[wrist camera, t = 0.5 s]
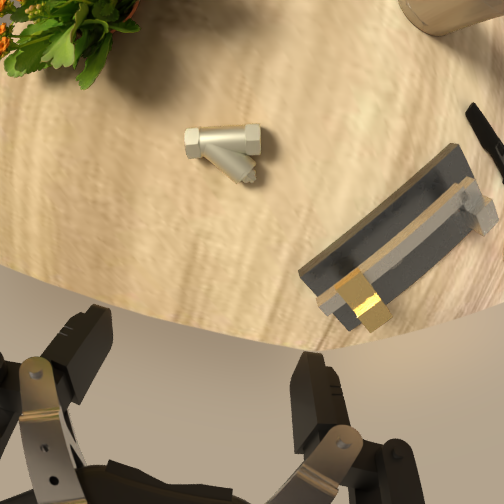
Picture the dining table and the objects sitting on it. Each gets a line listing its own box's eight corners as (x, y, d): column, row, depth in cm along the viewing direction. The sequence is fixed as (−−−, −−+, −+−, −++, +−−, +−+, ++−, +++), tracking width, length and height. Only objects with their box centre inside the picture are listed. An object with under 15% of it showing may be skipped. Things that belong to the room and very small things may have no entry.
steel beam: (451, 168, 30) (484, 179, 23) (467, 204, 31) (499, 220, 25) (311, 285, 36) (321, 317, 30) (337, 313, 38) (350, 347, 31)
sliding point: (344, 248, 34) (362, 274, 28) (373, 286, 36) (393, 316, 30) (323, 264, 35) (337, 293, 29) (354, 301, 37) (370, 333, 31)
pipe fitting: (261, 178, 34) (259, 123, 31) (262, 187, 31) (260, 124, 28) (195, 182, 35) (190, 127, 32) (188, 190, 31) (182, 129, 28)
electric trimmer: (466, 96, 28) (479, 95, 25) (512, 171, 32) (524, 175, 29) (455, 112, 29) (468, 112, 26) (502, 187, 33) (515, 191, 30)
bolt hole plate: (450, 143, 31) (459, 144, 29) (480, 209, 34) (488, 213, 32) (298, 270, 38) (300, 278, 36) (345, 323, 42) (349, 332, 40)
